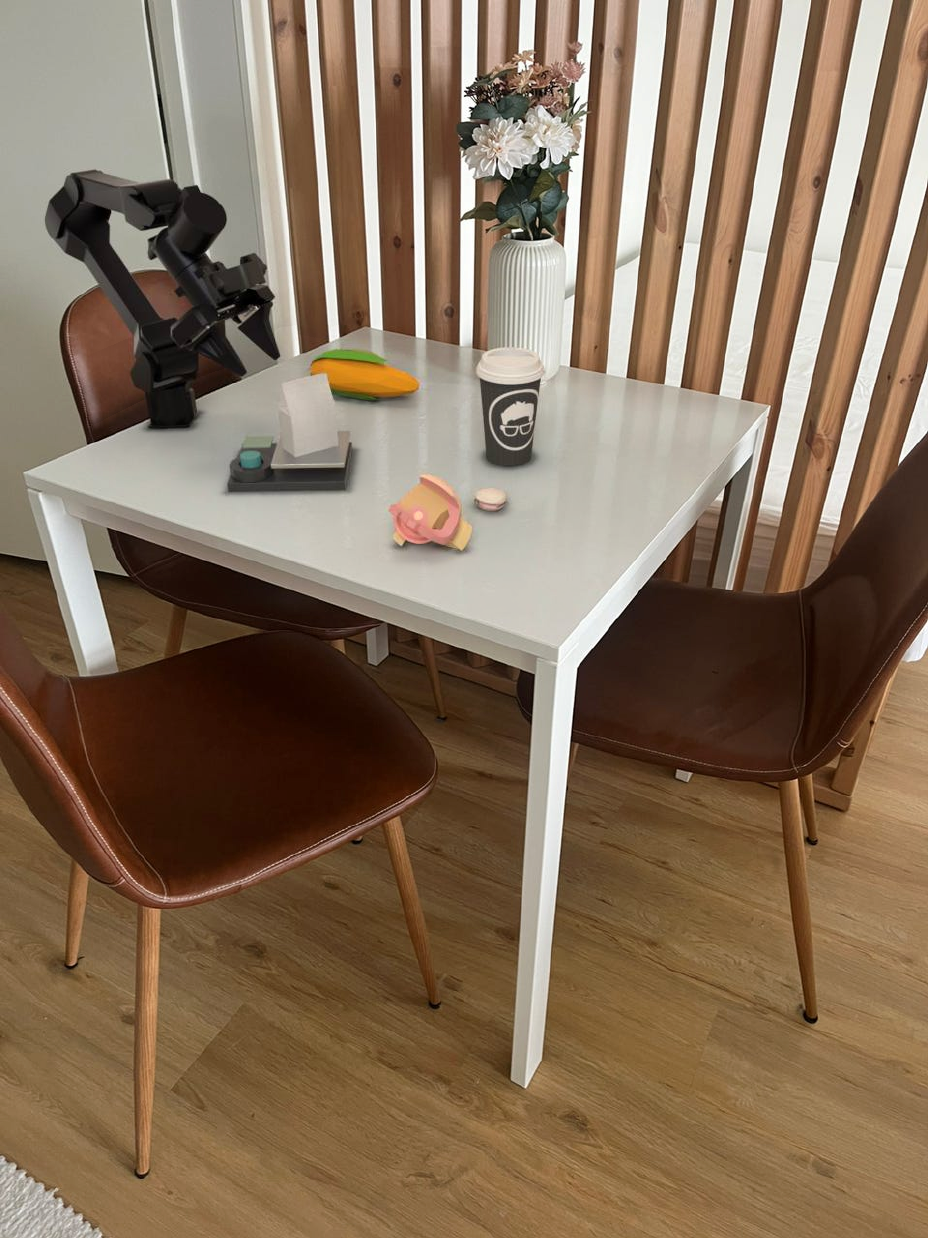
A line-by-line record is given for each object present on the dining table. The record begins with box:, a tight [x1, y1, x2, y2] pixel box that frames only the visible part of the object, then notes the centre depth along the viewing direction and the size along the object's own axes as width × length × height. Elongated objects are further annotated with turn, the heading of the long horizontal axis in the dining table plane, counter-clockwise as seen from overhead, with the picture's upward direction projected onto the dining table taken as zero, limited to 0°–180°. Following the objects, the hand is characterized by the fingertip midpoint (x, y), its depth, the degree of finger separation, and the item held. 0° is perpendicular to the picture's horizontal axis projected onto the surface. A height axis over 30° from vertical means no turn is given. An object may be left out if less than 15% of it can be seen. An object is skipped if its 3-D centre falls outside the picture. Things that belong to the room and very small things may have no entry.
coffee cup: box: [475, 346, 546, 467], centre depth 142 cm, size 10×10×15 cm
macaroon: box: [474, 487, 508, 512], centre depth 133 cm, size 4×5×2 cm
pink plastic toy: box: [388, 473, 474, 552], centre depth 124 cm, size 9×10×10 cm
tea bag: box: [278, 373, 338, 457], centre depth 138 cm, size 4×7×10 cm, turn 125°
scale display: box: [241, 435, 275, 448], centre depth 143 cm, size 4×4×1 cm
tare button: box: [240, 451, 262, 468], centre depth 138 cm, size 3×3×2 cm
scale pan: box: [271, 430, 351, 469], centre depth 141 cm, size 10×11×1 cm
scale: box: [226, 441, 353, 493], centre depth 142 cm, size 16×13×3 cm
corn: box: [309, 348, 420, 401], centre depth 164 cm, size 7×8×20 cm
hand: (261, 366), depth 140 cm, fingers open, 9 cm apart
